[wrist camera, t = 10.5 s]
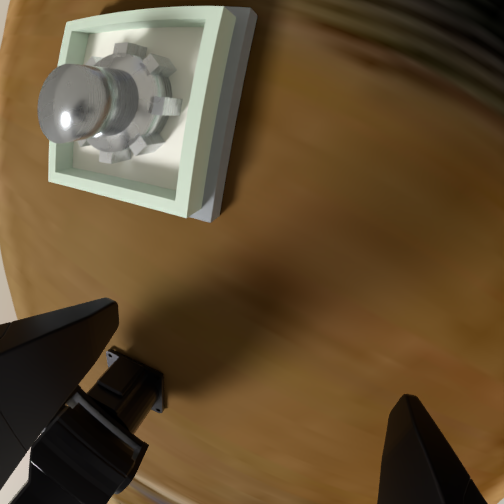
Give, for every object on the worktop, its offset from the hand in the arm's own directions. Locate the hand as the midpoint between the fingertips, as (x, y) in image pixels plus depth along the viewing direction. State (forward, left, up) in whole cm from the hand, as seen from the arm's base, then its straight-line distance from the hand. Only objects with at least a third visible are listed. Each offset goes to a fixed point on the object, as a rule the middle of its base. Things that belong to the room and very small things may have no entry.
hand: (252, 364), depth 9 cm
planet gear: (+6, +12, -10) cm, 17 cm away
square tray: (+6, +12, -12) cm, 18 cm away
